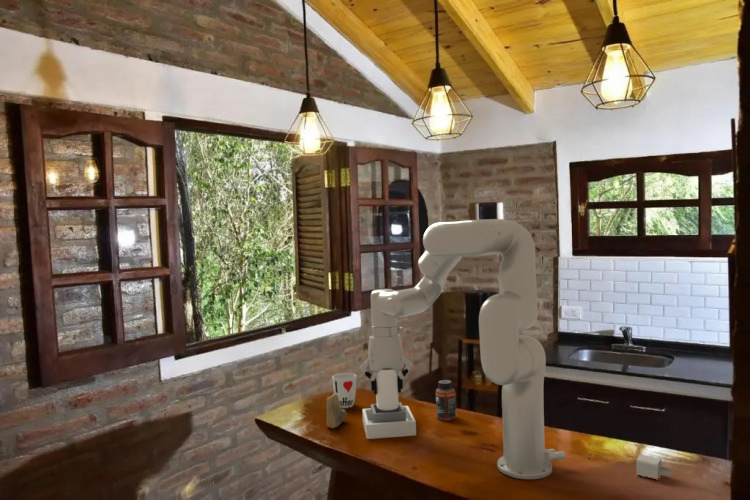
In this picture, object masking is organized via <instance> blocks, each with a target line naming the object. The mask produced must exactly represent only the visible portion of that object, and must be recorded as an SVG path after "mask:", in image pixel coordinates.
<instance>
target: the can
mask: <svg viewBox="0 0 750 500" xmlns="http://www.w3.org/2000/svg"><path fill="white" fill-rule="evenodd" d="M375 379H376V383H377V394H376V395H375V397H376V400H375V401H376V402H375V403H376V404H377V408H378V409H379V410H382V411H392V410H396V409H397V408H398V407H399V393H398V374H397V371H395V370H393V369H386V370H384V369H381V371H379V372H377V375H376V377H375Z"/></svg>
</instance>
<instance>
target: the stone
mask: <svg viewBox="0 0 750 500" xmlns="http://www.w3.org/2000/svg"><path fill="white" fill-rule="evenodd" d="M326 402H327V403H326V426H327V427H328V428H330V429H336V428H338V427H340V425H341V424H342V422H344V421H345V420H346V418H347V415H348V414H347V411H346V409H345V408H341V407H340V405H339V400H338V396H337V394H334V393H333V394H331V396H329V397H327V400H326Z"/></svg>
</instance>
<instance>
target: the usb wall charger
mask: <svg viewBox="0 0 750 500" xmlns="http://www.w3.org/2000/svg"><path fill="white" fill-rule="evenodd" d="M662 460H663V459H662V458H658V457H655V456H649V455H646V454H645V455H644V454H639V455H638V456H637V458H636V461H635V462H636V476H637V475H643V476H648V477H654V478H658V477H659V476H660V474H662V475H665V476H670V477H672V476H673V474H672V473H674V472H675V471H674V469H673V468H669V467H665V466H662V465H663V461H662Z"/></svg>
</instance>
